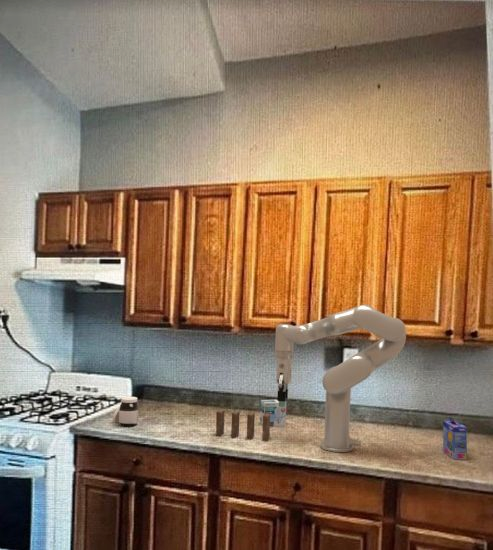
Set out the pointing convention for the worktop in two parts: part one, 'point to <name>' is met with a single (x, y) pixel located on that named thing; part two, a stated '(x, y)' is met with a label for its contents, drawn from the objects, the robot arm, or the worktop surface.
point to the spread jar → (127, 412)
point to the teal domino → (281, 403)
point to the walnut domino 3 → (250, 425)
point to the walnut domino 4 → (266, 427)
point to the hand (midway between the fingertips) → (282, 399)
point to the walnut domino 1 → (220, 422)
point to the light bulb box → (273, 412)
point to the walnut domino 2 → (235, 424)
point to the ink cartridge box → (455, 439)
